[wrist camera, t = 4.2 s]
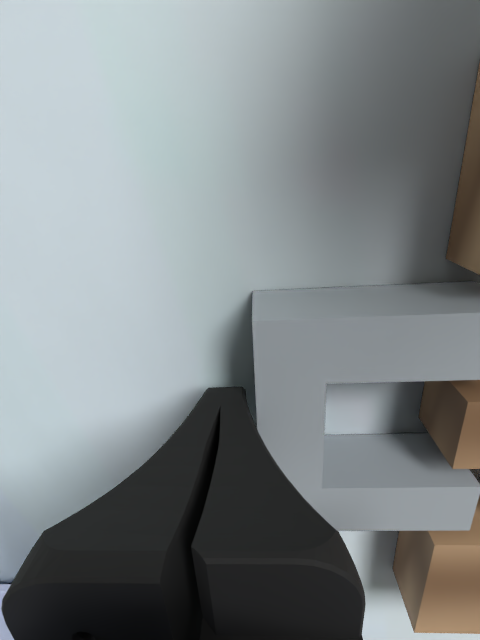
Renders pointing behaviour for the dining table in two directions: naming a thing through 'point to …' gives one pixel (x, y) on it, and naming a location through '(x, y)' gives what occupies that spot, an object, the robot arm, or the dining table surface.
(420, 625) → the rail
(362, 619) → the robot arm
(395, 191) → the dining table surface
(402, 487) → the clip
